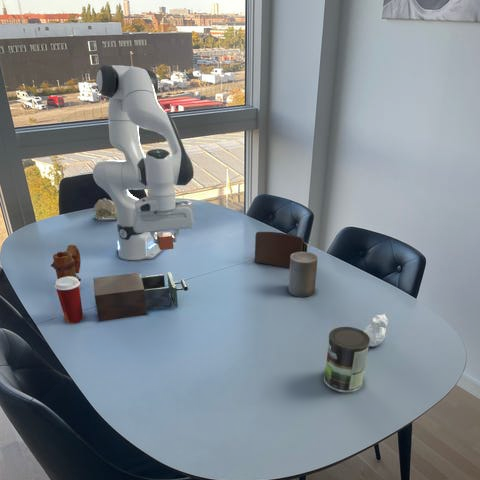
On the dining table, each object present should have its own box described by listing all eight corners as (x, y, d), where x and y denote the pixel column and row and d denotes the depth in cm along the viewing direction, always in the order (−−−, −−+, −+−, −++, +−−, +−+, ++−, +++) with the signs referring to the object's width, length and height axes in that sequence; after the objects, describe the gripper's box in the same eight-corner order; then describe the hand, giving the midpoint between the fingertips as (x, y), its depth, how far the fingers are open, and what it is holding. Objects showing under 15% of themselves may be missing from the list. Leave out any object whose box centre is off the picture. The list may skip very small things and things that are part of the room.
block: (171, 244, 163) (170, 231, 160) (173, 248, 159) (172, 235, 157) (158, 245, 161) (157, 232, 159) (160, 250, 158) (159, 237, 155)
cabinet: (142, 296, 167) (139, 272, 162) (147, 315, 156) (144, 289, 151) (97, 302, 163) (93, 277, 158) (99, 321, 152) (94, 295, 147)
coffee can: (329, 394, 121) (334, 349, 114) (319, 370, 130) (324, 327, 123) (367, 392, 122) (375, 347, 114) (356, 368, 131) (362, 325, 123)
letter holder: (300, 269, 188) (303, 236, 180) (254, 262, 194) (254, 230, 186) (306, 260, 196) (309, 228, 188) (261, 253, 202) (262, 222, 194)
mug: (73, 297, 167) (65, 258, 159) (52, 294, 168) (43, 256, 161) (92, 279, 179) (85, 242, 171) (72, 277, 181) (65, 241, 173)
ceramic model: (90, 219, 240) (86, 200, 235) (99, 213, 249) (96, 194, 244) (116, 221, 238) (113, 202, 233) (124, 214, 247) (121, 195, 242)
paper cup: (91, 315, 155) (84, 277, 148) (77, 326, 149) (69, 287, 142) (71, 311, 158) (63, 274, 150) (56, 322, 151) (47, 284, 144)
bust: (359, 356, 139) (384, 341, 130) (344, 335, 141) (368, 319, 132) (382, 342, 146) (407, 326, 137) (368, 322, 148) (391, 305, 139)
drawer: (184, 290, 170) (182, 270, 166) (190, 305, 160) (189, 285, 156) (131, 296, 165) (128, 276, 161) (134, 313, 155) (132, 292, 151)
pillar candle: (317, 288, 173) (321, 250, 166) (309, 299, 166) (313, 260, 158) (293, 283, 177) (295, 246, 169) (284, 294, 169) (286, 255, 162)
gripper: (191, 197, 158) (193, 236, 165) (129, 202, 152) (134, 242, 159) (195, 202, 152) (196, 242, 159) (131, 207, 147) (136, 248, 154)
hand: (165, 242), depth 159 cm, fingers closed on block, 4 cm apart
